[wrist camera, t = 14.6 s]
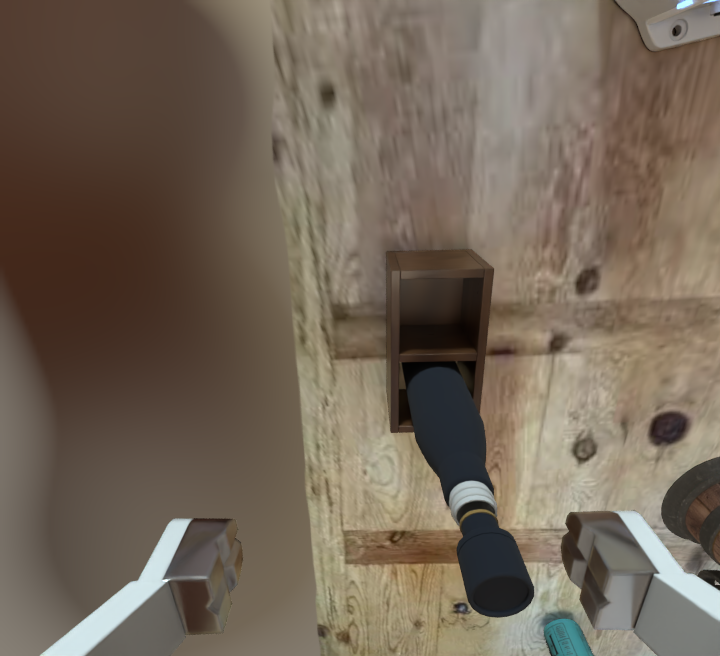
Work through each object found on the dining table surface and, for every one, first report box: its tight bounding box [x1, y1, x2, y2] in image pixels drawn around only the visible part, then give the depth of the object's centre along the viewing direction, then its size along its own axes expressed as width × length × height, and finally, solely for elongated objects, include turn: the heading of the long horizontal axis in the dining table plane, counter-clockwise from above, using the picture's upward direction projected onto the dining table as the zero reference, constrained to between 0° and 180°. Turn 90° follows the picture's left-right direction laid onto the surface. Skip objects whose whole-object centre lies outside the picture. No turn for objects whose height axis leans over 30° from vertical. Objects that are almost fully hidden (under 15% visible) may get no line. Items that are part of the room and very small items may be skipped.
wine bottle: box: [401, 361, 534, 618], centre depth 38 cm, size 6×6×30 cm
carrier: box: [386, 249, 494, 433], centre depth 47 cm, size 10×19×9 cm, turn 2°
